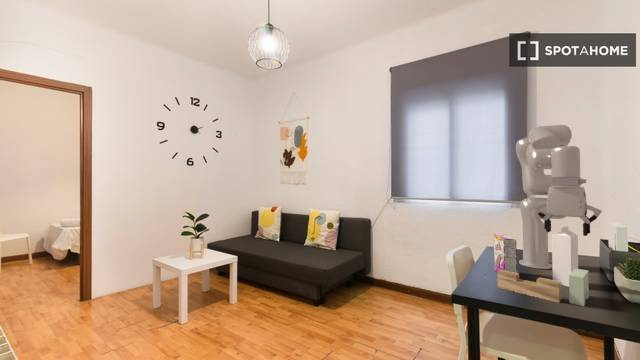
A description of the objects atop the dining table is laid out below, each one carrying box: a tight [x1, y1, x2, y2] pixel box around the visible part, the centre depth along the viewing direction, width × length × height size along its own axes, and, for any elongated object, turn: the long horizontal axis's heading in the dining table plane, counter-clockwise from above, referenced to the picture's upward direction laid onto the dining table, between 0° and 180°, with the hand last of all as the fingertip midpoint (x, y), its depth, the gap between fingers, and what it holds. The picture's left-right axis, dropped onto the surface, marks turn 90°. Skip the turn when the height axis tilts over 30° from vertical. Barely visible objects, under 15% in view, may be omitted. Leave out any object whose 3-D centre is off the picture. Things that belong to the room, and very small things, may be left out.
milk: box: [551, 225, 579, 288], centre depth 112 cm, size 6×6×22 cm
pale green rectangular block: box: [568, 268, 590, 307], centre depth 97 cm, size 11×4×9 cm, turn 131°
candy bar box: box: [493, 233, 518, 273], centre depth 123 cm, size 11×5×16 cm, turn 168°
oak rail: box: [496, 270, 562, 303], centre depth 103 cm, size 4×18×6 cm, turn 41°
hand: (566, 233), depth 99 cm, fingers open, 9 cm apart
